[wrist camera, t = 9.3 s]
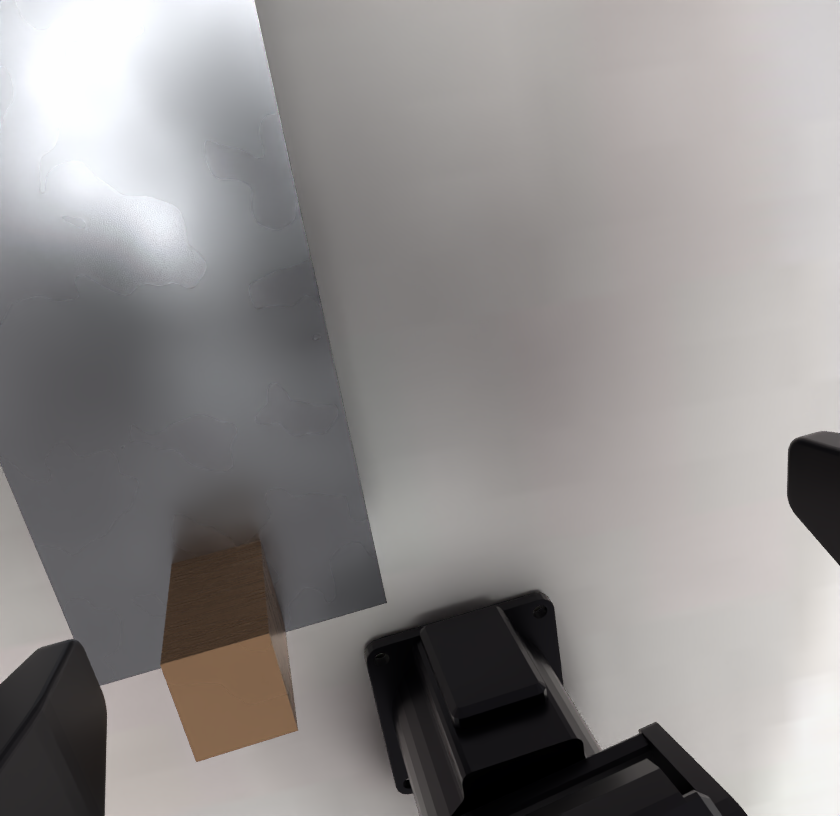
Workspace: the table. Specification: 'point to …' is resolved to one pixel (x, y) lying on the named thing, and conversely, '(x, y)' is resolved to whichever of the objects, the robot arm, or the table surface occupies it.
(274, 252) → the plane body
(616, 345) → the table surface
